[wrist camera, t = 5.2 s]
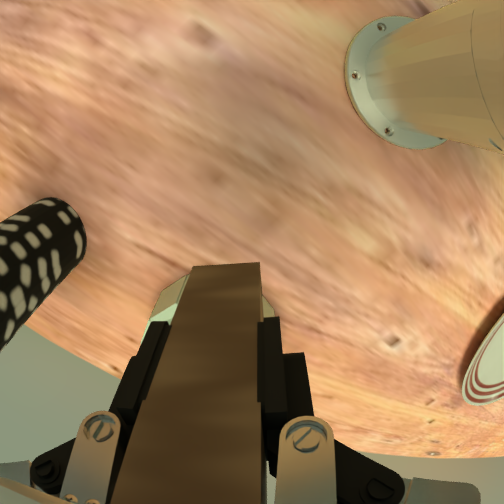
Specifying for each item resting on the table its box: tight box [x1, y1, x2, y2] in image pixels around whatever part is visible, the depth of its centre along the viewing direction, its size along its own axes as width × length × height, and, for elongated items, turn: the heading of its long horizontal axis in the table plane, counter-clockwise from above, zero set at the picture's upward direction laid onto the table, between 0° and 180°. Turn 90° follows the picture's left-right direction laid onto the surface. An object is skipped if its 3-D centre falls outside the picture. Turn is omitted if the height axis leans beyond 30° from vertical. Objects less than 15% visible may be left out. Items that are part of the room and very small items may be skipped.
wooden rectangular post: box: [110, 262, 267, 504], centre depth 8 cm, size 3×3×14 cm
